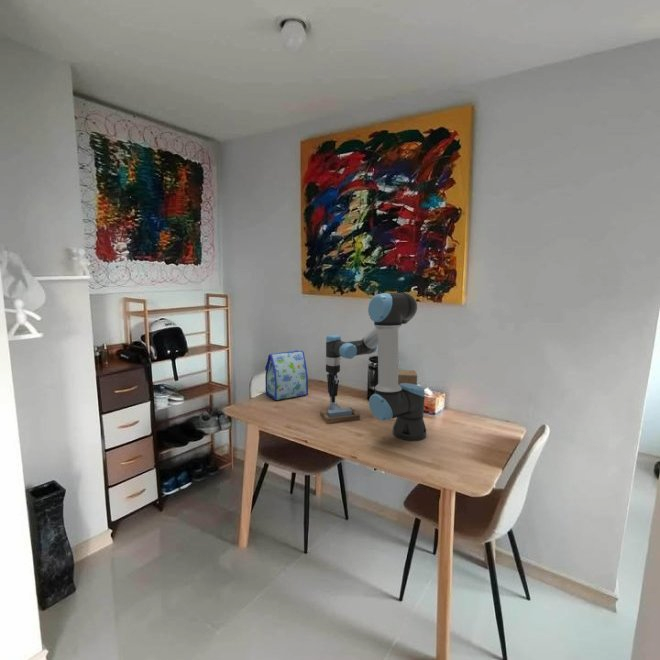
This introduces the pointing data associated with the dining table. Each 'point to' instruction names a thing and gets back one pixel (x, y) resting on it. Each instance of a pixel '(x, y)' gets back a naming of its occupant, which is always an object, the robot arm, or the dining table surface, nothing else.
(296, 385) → the lunch bag
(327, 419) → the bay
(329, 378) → the robot arm
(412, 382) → the wooden block
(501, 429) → the dining table surface
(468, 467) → the dining table surface
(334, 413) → the tee
